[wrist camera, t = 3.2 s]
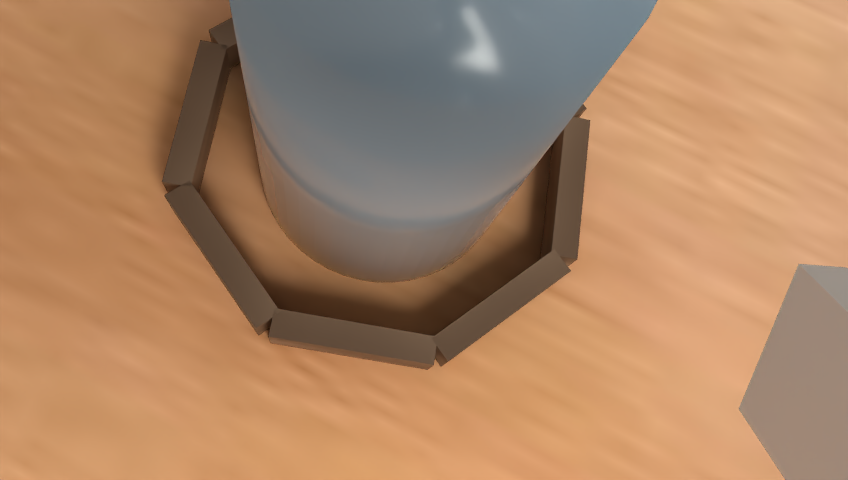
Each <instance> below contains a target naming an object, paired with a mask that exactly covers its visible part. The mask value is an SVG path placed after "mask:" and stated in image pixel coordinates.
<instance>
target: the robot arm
mask: <svg viewBox="0 0 848 480" xmlns="http://www.w3.org/2000/svg"><path fill="white" fill-rule="evenodd" d="M739 410H740V412H741V413H742V415H743V416H744V418H745V419H746V421H747V422H748V424H749V425H750V427H751V428H752V430H753V431H754V433H755V434H756V436H757V437H758V439H759V441H760V442H761V444H762V445H763V447H764V448H765V450H766V451H767V453H768V454H769V456H770V457H771V459H772V460H773V462H774V463H775V465H776V466H777V468H778V469H779V471H780V472H781V474H782V475H783V477H784V478H785V480H848V268H845V267H832V266H819V265H806V264H799V265H798V267H797V270H796V272H795V274H794V277H793V279H792V282H791V284H790V286H789V289H788V291H787V294H786V296H785V298H784V301H783V303H782V306H781V308H780V311H779V313H778V315H777V318H776V320H775V323H774V325H773V327H772V330H771V332H770V335H769V337H768V339H767V342H766V344H765V347H764V349H763V352H762V354H761V356H760V359H759V361H758V364H757V366H756V368H755V371H754V373H753V376H752V378H751V380H750V383H749V385H748V388H747V390H746V392H745V395H744V397H743V400H742V402H741V405H740V407H739Z"/></svg>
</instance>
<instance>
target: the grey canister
mask: <svg viewBox="0 0 848 480" xmlns="http://www.w3.org/2000/svg"><path fill="white" fill-rule="evenodd" d="M229 2H230V8H231V13H232V19H233V24H234V30H235V35H236V41H237V46H238V52H239V57H240V63H241V68H242V74H243V79H244V85H245V91H246V96H247V102H248V107H249V113H250V118H251V124H252V129H253V135H254V140H255V146H256V151H257V157H258V162H259V168H260V173H261V179H262V184H263V188H264V192H265V196H266V199H267V202H268V204H269V207H270V209H271V212H272V214H273V216H274V217H275V219H276V221H277V223H278V224H279V226H280V228H281V229H282V230H283V231H284V233H285V234H286V235H287V237H288V238H289V239H290V240H291V241H292V242H293V243H294V244H295V245H296V246H297V247H298V248H299V249H300V250H301V251H302V252H303V253H305V254H306V255H307V256H309V257H310V258H311V259H313V260H314V261H315V262H317V263H319V264H321V265H322V266H324V267H326V268H328V269H330V270H332V271H334V272H337V273H339V274H342V275H344V276H348V277H351V278H355V279H359V280H364V281H371V282H401V281H410V280H413V279H417V278H421V277H425V276H428V275H430V274H433V273H435V272H438V271H440V270H442V269H444V268H445V267H447V266H449V265H451V264H453V263H454V262H455V261H457V260H458V259H459V258H461V257H462V256H463V255H465V254H466V253H467V252H468V251H469V250H470V249H471V248H472V247H473V246H474V245H475V244H476V243H477V242H478V240H479V239H480V238H481V236H482V235H483V234H484V232H485V231H486V230H487V228H488V227H489V226H490V225H491V223H492V222H493V221H494V219H495V218H496V217H497V215H498V214H499V213H500V212H501V210H502V209H503V208H504V206H505V205H506V204H507V202H508V201H509V200H510V198H511V197H512V196H513V195H514V193H515V192H516V191H517V189H518V188H519V187H520V185H521V184H522V183H523V181H524V180H525V179H526V178H527V176H528V175H529V174H530V172H531V171H532V170H533V168H534V167H535V166H536V164H537V163H538V162H539V161H540V159H541V158H542V157H543V155H544V154H545V153H546V151H547V150H548V149H549V147H550V146H551V145H552V144H553V142H554V141H555V140H556V138H557V137H558V136H559V134H560V133H561V132H562V131H563V129H564V128H565V127H566V125H567V124H568V123H569V121H570V120H571V119H572V117H573V116H574V115H575V114H576V112H577V111H578V110H579V108H580V107H581V106H582V104H583V103H584V102H585V100H586V99H587V98H588V97H589V95H590V94H591V93H592V91H593V90H594V89H595V87H596V86H597V85H598V83H599V82H600V81H601V80H602V78H603V77H604V76H605V74H606V73H607V72H608V70H609V69H610V68H611V66H612V65H613V64H614V63H615V61H616V60H617V59H618V57H619V56H620V55H621V53H622V52H623V51H624V50H625V48H626V47H627V46H628V44H629V43H630V42H631V40H632V39H633V38H634V36H635V35H636V34H637V32H638V31H639V30H640V28H641V27H642V26H643V24H644V23H645V22H646V20H647V19H648V18H649V16H650V14H651V12H652V10H653V8H654V6H655V4H656V2H657V0H229Z"/></svg>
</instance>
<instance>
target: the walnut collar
mask: <svg viewBox="0 0 848 480" xmlns="http://www.w3.org/2000/svg"><path fill="white" fill-rule="evenodd" d="M209 33H210V37H211V41H212V42H207V41H202V40H200V44H199V47H198V51H197V55H196V58H195V62H194V66H193V69H192V73H191V77H190V81H189V84H188V88H187V92H186V95H185V99H184V103H183V106H182V110H181V114H180V117H179V121H178V125H177V128H176V132H175V136H174V139H173V143H172V147H171V151H170V154H169V158H168V162H167V165H166V169H165V173H164V176H163V180H162V182H163V184H164V186H165V188H166V189H167V191H168V193H167V194H166V195H165V197H166V199H167V201H168V202H169V204H170V206H171V208H172V209H173V211H174V212H175V214H176V215H177V217H178V218H179V220H180V221H181V223H182V224H183V225H184V227H185V228H186V230H187V231H188V233H189V234H190V236H191V237H192V239H193V240H194V242H195V243H196V245H197V246H198V247H199V249H200V250H201V252H202V253H203V255H204V256H205V258H206V259H207V261H208V262H209V264H210V265H211V266H212V268H213V269H214V271H215V272H216V274H217V275H218V277H219V278H220V280H221V281H222V283H223V284H224V286H225V287H226V288H227V290H228V291H229V293H230V294H231V296H232V297H233V299H234V300H235V302H236V303H237V305H238V306H239V308H240V309H241V310H242V312H243V313H244V315H245V316H246V318H247V319H248V321H249V322H250V324H251V325H252V327H253V328H254V329H255V331H256V332H257V334H258V335H259V334H261V333H262V332H264V331H265V330H267V329H268V328H270V331H269V336H268V337H269V340H270V342H271V343H274V344H280V345H286V346H291V347H297V348H303V349H309V350H315V351H321V352H327V353H332V354H338V355H344V356H350V357H356V358H362V359H368V360H374V361H379V362H385V363H391V364H397V365H403V366H409V367H415V368H421V369H426V370H428V369H429V368H430V367H432V366H433V365H434V360H435V359H436V360H437V361H438V363H439V364H440V366H443V365H444V364H445V363H447V362H448V361H450V360H451V359H452V358H454V357H455V356H456V355H458V354H459V353H460V352H462V351H463V350H464V349H466V348H467V347H468V346H470V345H471V344H473V343H474V342H475V341H477V340H478V339H479V338H481V337H482V336H483V335H485V334H486V333H487V332H489V331H490V330H491V329H493V328H494V327H496V326H497V325H498V324H500V323H501V322H502V321H504V320H505V319H506V318H508V317H509V316H510V315H512V314H513V313H514V312H516V311H517V310H519V309H520V308H521V307H523V306H524V305H525V304H527V303H528V302H529V301H531V300H532V299H533V298H535V297H536V296H537V295H539V294H540V293H542V292H543V291H544V290H546V289H547V288H548V287H550V286H551V285H552V284H554V283H555V282H556V281H558V280H559V279H560V278H562V277H563V276H565V275H566V274H567V273H569V272H570V271H571V270H570V269H569V268H568V266H569V265H570V264H572V263H573V262H574V261H576V260H577V257H578V246H579V235H580V224H581V214H582V203H583V192H584V181H585V171H586V160H587V149H588V138H589V128H590V120H586V119H582V118H579V117H580V116H581V115H582V113H583V112H584V111H585V109H586V107H585V106H584V105H583V104H582V106H581V107H580V108H579V110H578V111H577V112H576V114H575V115H574V116H573V117H572V119H571V120H570V121H569V123H568V124H567V125H566V127H565V128H564V129H563V131H562V132H561V133H560V134H559V136H558V137H557V138H556V140H555V141H554V142H553V146H552V155H551V164H550V174H549V183H548V192H547V201H546V211H545V220H544V229H543V238H542V247H541V257H540V260H539V261H537V262H536V263H535V264H533V265H532V266H530V267H529V268H528V269H526V270H525V271H523V272H522V273H521V274H519V275H518V276H517V277H515V278H514V279H512V280H511V281H510V282H508V283H507V284H505V285H504V286H503V287H501V288H500V289H499V290H497V291H496V292H494V293H493V294H492V295H490V296H489V297H487V298H486V299H485V300H483V301H482V302H481V303H479V304H478V305H476V306H475V307H474V308H472V309H471V310H469V311H468V312H467V313H465V314H464V315H463V316H461V317H460V318H458V319H457V320H456V321H454V322H453V323H451V324H450V325H449V326H447V327H446V328H445V329H443V330H442V331H440V332H439V333H438V334H436V335H435V336H432V335H426V334H420V333H414V332H409V331H403V330H397V329H391V328H386V327H380V326H374V325H369V324H363V323H357V322H351V321H346V320H340V319H334V318H328V317H323V316H317V315H311V314H306V313H300V312H294V311H288V310H283V309H278V308H277V306H276V305H275V303H274V302H273V300H272V299H271V298H270V296H269V295H268V293H267V292H266V290H265V289H264V287H263V286H262V285H261V283H260V282H259V280H258V279H257V277H256V276H255V274H254V273H253V271H252V270H251V269H250V267H249V266H248V264H247V263H246V261H245V260H244V258H243V257H242V256H241V254H240V253H239V251H238V250H237V248H236V247H235V245H234V244H233V243H232V241H231V240H230V238H229V237H228V235H227V234H226V232H225V231H224V230H223V228H222V227H221V225H220V224H219V222H218V221H217V219H216V218H215V217H214V215H213V214H212V212H211V211H210V209H209V208H208V206H207V205H206V204H205V202H204V201H203V199H202V198H201V196H200V195H199V190H200V186H201V182H202V178H203V174H204V170H205V166H206V163H207V159H208V155H209V151H210V147H211V143H212V139H213V135H214V131H215V127H216V123H217V119H218V115H219V112H220V108H221V104H222V100H223V96H224V92H225V88H226V84H227V80H228V76H229V72H230V68H232V67H234V66H235V65H237V64H239V63H240V57H239V52H238V46H237V41H236V35H235V30H234V24H233V19H232V18H231V19H229V20H227V21H225V22H223V23H221V24H219V25H217V26H216V27H214V28H212V29H210V30H209Z"/></svg>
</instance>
